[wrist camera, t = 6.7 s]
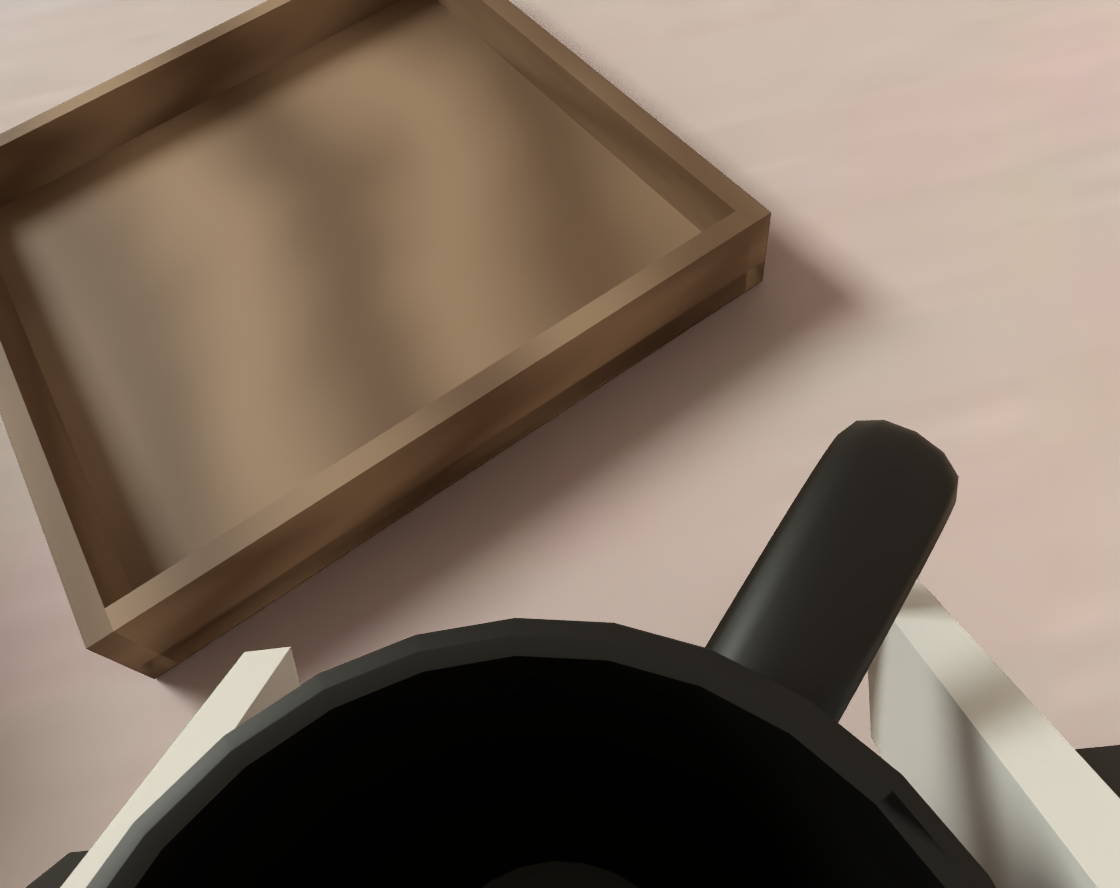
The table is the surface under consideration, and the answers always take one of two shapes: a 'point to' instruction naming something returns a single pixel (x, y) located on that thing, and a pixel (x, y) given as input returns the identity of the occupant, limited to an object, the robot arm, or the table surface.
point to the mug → (599, 737)
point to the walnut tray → (324, 291)
